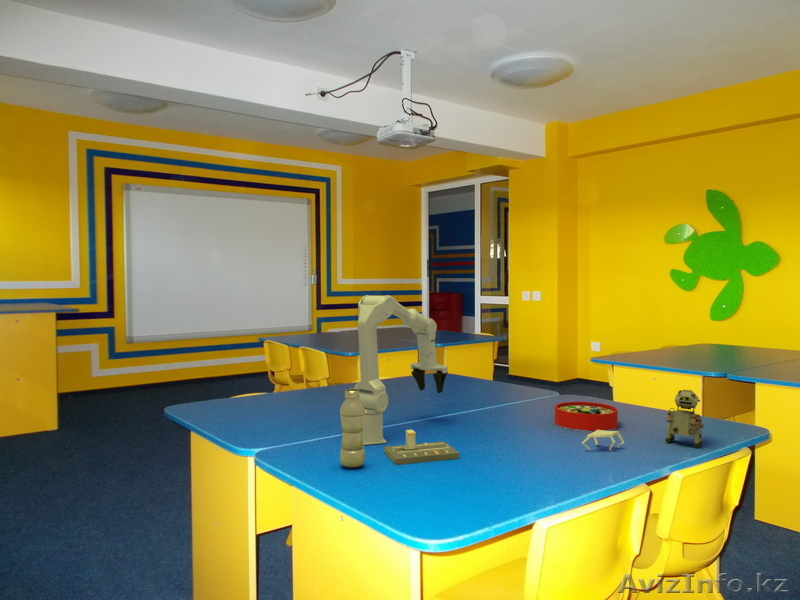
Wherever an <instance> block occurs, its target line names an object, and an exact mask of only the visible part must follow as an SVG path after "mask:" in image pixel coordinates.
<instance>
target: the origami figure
mask: <svg viewBox="0 0 800 600" xmlns="http://www.w3.org/2000/svg"><path fill="white" fill-rule="evenodd" d="M620 432H621V431H619V430H618V431H617V430H612V431H605V430H597V431H595V432H590V433H588V434H587V436H586V438H585V439H584V440H583V441H582V442H581V444H582V446H584V447H585V448H587V450H588V451H589V450H591V447H589V446H588V445H587V444H586V442H587V441H589V440H590V439H591V438H593V439H594V441H595V446H596V445H597V446H599V441H598V438H610V439H611V441H612V443H611V445H610V446H609V447H608V448H609V451H610V450H612V448H613V446H614V444H615V443H616V440H615V439H614V436H616V437H618V438H619V440H620V441H621V443H618V444H617V445H616V448H617V447H618V448H620V445H623V444H625V441H624V438H623V437H622V435H621V433H620ZM618 448H617V449H618ZM612 451H613V450H612Z"/></svg>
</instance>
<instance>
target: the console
mask: <svg viewBox="0 0 800 600" xmlns="http://www.w3.org/2000/svg"><path fill="white" fill-rule="evenodd" d="M415 445H416V446H418V447H419V450H413V451H403V450H402V446H406V444H401V445H398V444H397V445H391V446H390V445H389V446H384V447H383V453H384V452H385V453H386V454H387V455H386V454H385V453H384V454H385V455H386V456H387V457H388V458H389V459H390V460H391V461H392V463H393V462H394V463H395V464H394V463H393V464H394V465H395V466H396V465H397V466H398V464H399V465H408V464H418V463H427V462H428V463H429V462H437V461H448V459H449V460H457V459H460V457H461V456H460V453H461V452H459V451H458V450H456V448H454V447H452V446H451V445H449V444H448V443H447V442H445V441H444V440H443V441H435V442H424V443H421V442H420V443H415Z"/></svg>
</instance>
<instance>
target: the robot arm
mask: <svg viewBox="0 0 800 600" xmlns="http://www.w3.org/2000/svg"><path fill="white" fill-rule="evenodd" d="M357 304H358V305H357V307H358V320H357V329H358V330H357V332H358V348H359V350H358V351H359V366H360V367H359V368H360V380H359V382H357V383H355V385H354V387H353V389H358V390H359V395H360V397H359V400H360V402H361V403H362V404H363V406H364V409H365V414H364V422H363V445H364V446H365V445H368V446H369V445H378V444H387V440H386V439H385V438H384V435H383V434H384V433H383V430H384V428H383V426H384V425H383V424H384V421H383V420H384V419H383V413H385V410H386V409H387V407H388V405H389V396H388V394H387V391H386V385H385V384H384V383H383V382H382V381H381V380H380V375H379V374H380V373H379V370H380V369H379V352H378V336H377V335H378V334H377V333H378V332H377V328H378V326H379V325H380V324H382V323H383V322H384V321H386V320H387V319H388V318H390V317H391V316H395V317H398V318H399V319H401V322H402V324H404V326H406V327H409V328H410V329H411V330H412V332H413V333H414V335H416V338H417V347H418V349H417V351H418V357H419V362H412V363H410V365H409V366H410V370H412V371H411V375H412V376H413V378H414V379H415V382H416V384H417V386H418V389H419V391H421V392H422V391H423V390H425V388H426V383H425V381H426V379H425V374H426V371H428V372H435V373H433V374H432V377H433V379H434V381H435V386H436V391H437V394H441V393H443V391H444V384H445V381H446V379H447V378H446V377H447V376H448V372H449V369H448V368H449V367H448V365H443V364H439V363H438V362H437V352H436V341H435V339H436V332H437V328H438V326H437V323H436V321H435V320H434V319H433V318H431V317H426V316H425V314H423V313H420V312H418V310H417V309H416V308H415V307H414V308H406V307H404V306H403V305H402V304H400V303H399V302H398V301H397V300H396V298H395V297H392V295H389V294H386V295H368V294H366V295H364V296H362V298H361V299H360V300H359V302H358V303H357Z"/></svg>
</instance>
